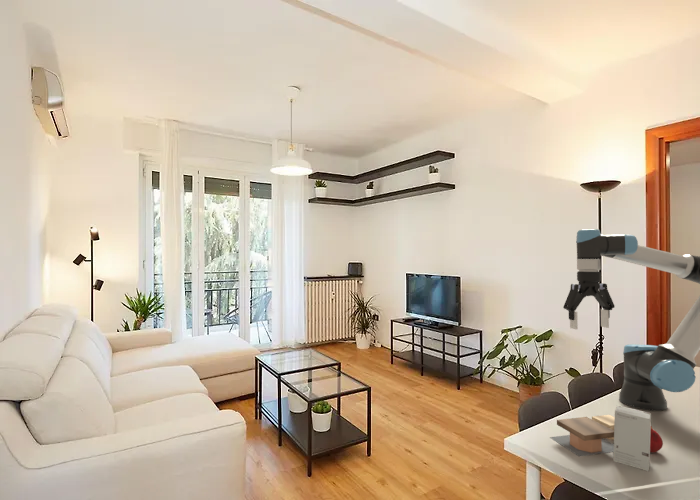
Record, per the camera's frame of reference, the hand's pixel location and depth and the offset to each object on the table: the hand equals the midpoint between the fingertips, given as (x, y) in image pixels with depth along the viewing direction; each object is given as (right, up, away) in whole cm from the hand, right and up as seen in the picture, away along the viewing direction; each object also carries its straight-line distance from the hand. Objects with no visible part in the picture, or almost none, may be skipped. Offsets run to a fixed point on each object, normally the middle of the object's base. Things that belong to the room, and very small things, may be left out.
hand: (589, 328), depth 144 cm
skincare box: (-10, -31, -35) cm, 48 cm away
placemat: (-16, -31, -24) cm, 43 cm away
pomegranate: (0, -32, -29) cm, 43 cm away
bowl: (-17, -31, -26) cm, 43 cm away
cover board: (-17, -26, -26) cm, 40 cm away
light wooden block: (-4, -31, -18) cm, 36 cm away
